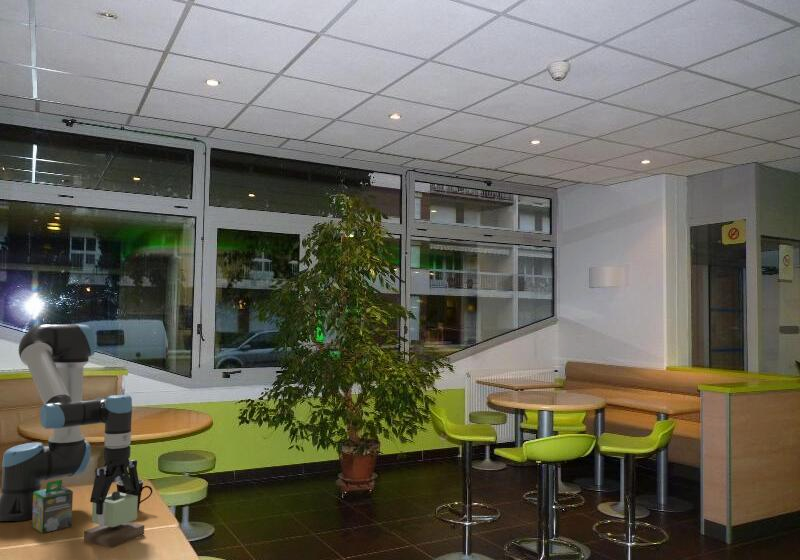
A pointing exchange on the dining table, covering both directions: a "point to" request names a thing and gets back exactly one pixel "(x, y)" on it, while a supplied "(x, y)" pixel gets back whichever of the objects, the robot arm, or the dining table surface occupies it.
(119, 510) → the green square socket block
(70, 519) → the chalk box
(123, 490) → the coffee mug
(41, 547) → the dining table surface
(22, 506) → the robot arm
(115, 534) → the rod stand
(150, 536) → the dining table surface
